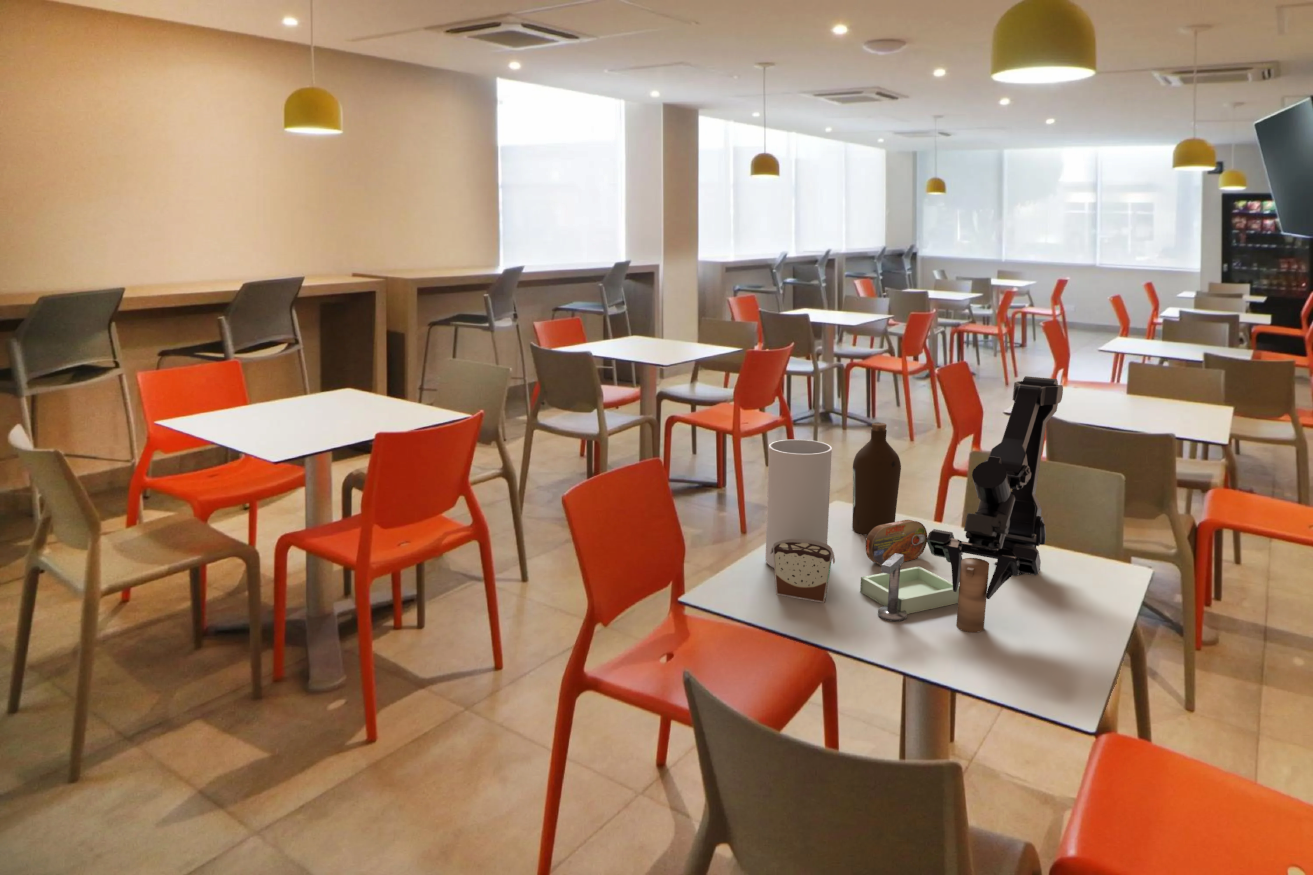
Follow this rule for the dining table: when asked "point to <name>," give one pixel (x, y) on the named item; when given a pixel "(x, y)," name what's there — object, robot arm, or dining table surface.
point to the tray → (912, 590)
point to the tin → (896, 541)
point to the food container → (802, 568)
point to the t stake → (892, 589)
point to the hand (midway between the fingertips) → (970, 594)
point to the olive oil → (875, 482)
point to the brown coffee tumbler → (972, 594)
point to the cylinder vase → (797, 492)
